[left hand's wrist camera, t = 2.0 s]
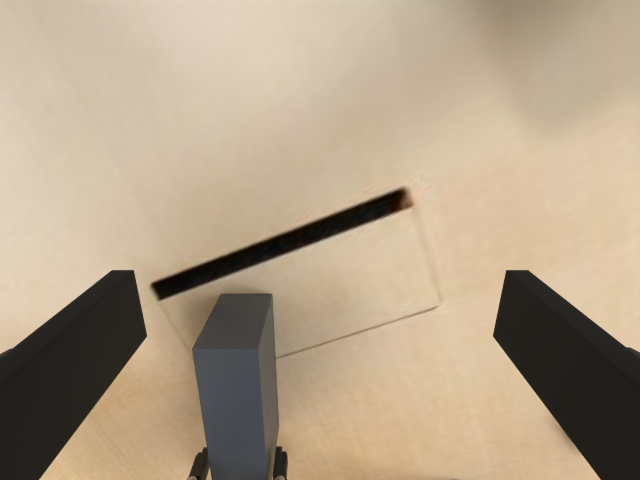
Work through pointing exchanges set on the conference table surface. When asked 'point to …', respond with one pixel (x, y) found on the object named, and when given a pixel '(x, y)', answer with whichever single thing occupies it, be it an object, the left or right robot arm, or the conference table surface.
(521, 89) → the conference table surface
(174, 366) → the conference table surface
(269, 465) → the box
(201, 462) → the right robot arm
